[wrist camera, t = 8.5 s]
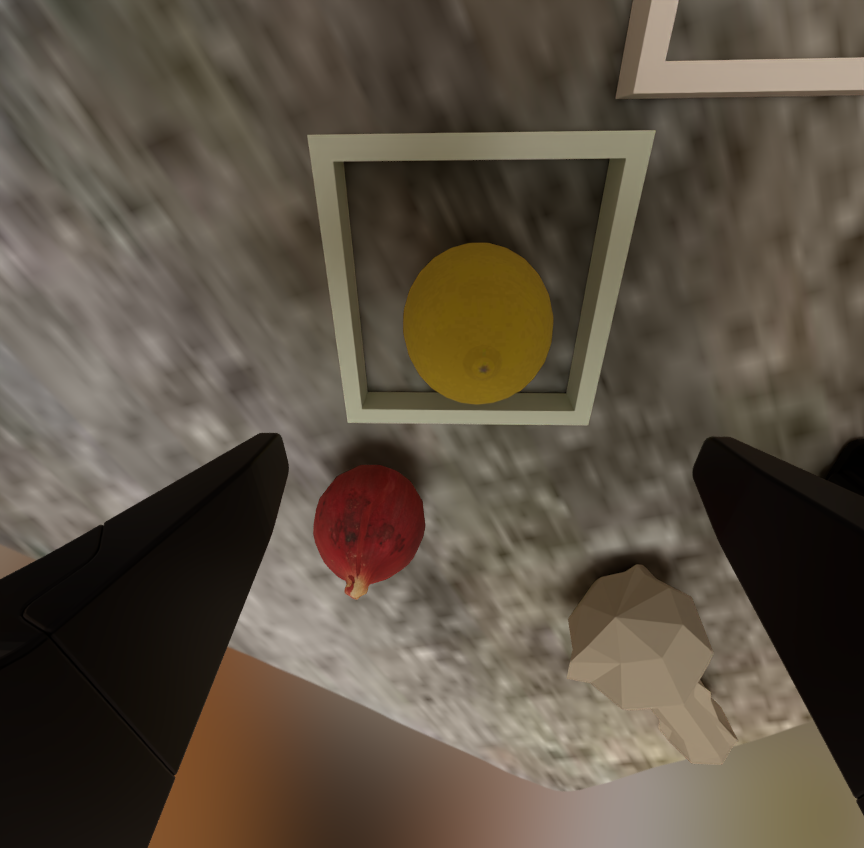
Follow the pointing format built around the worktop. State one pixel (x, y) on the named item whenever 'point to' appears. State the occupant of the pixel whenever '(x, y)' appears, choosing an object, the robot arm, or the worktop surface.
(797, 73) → the bin
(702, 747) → the faceted club
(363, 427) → the worktop surface
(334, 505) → the onion
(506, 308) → the lemon
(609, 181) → the bin
